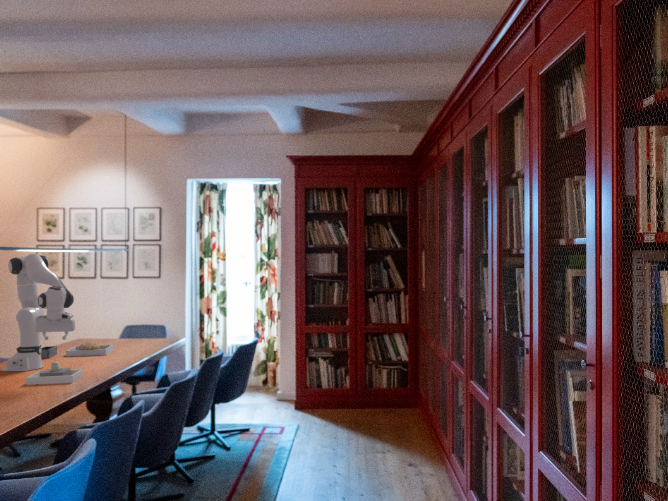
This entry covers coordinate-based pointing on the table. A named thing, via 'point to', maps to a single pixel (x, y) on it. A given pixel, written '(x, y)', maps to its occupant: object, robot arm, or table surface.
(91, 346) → the nautilus
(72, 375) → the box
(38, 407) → the table surface
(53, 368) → the peg
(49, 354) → the dark grey open bin
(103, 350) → the shell tray
